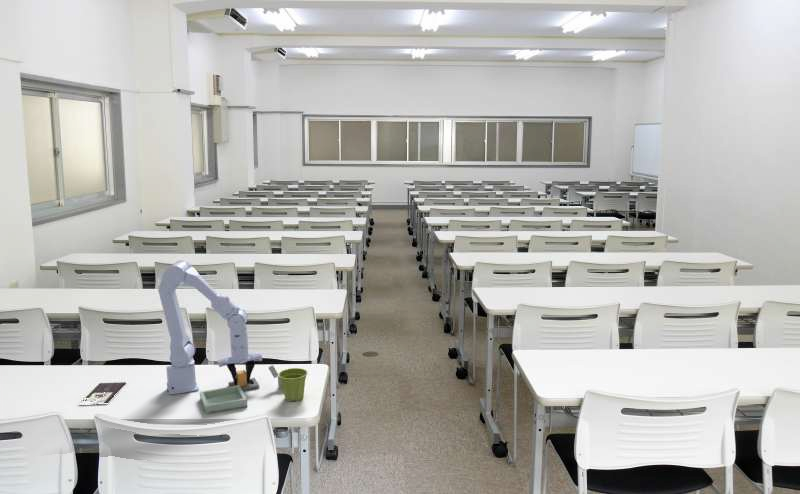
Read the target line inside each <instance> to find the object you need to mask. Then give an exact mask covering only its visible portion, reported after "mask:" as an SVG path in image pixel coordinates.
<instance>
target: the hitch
mask: <svg viewBox="0 0 800 494" xmlns="http://www.w3.org/2000/svg"><path fill="white" fill-rule="evenodd" d="M227 382H228V387H231V386H237V385H234V381H227ZM240 387H241V389H242V391H243V392H244V391H249V390H257V389H260V384H259V382H258V381H257V379H256V378H255V377H253V378H251V377H250V383H247V385H246V386H240Z"/></svg>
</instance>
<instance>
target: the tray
mask: <svg viewBox="0 0 800 494" xmlns="http://www.w3.org/2000/svg"><path fill="white" fill-rule="evenodd" d="M199 397H200V398H199V399H200V402H201V406H202V407H203V410H204V413H205V415H209V414H214V413H221V412H227V411H231V410H237V409H243V408H247V407H248V398H247V397H246V395H245V393H244V391H242V389H241V387H240V385H236V386H230V387H229V386H225V387H221V388H213V389H207V390H202V391H199Z"/></svg>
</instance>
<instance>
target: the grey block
mask: <svg viewBox="0 0 800 494" xmlns="http://www.w3.org/2000/svg"><path fill="white" fill-rule="evenodd" d="M268 370H269V371H270V373H271V375H272V376H273V378H274V379H275V378H277V388H278V389H283V386H282V382H281V380H280V377H279V375H278V374H279V372H277V370H276V368H275V366H274V364H272V365H269V366H268Z"/></svg>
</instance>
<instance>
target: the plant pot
mask: <svg viewBox="0 0 800 494" xmlns="http://www.w3.org/2000/svg"><path fill="white" fill-rule="evenodd" d="M278 375H279V377H280V380H281V382H282V386H283V388H282V390H283V395H284V399H285V400H286V401H288V402H294V401H296V402H298V401H302V400H303V398H304V397H305V386H306V385H305V384H306V378H307V376H308V371H307V369H305V368H301V367H299V368H298V367H293V368H286V369H283V370H281V371H280V372H278Z"/></svg>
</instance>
